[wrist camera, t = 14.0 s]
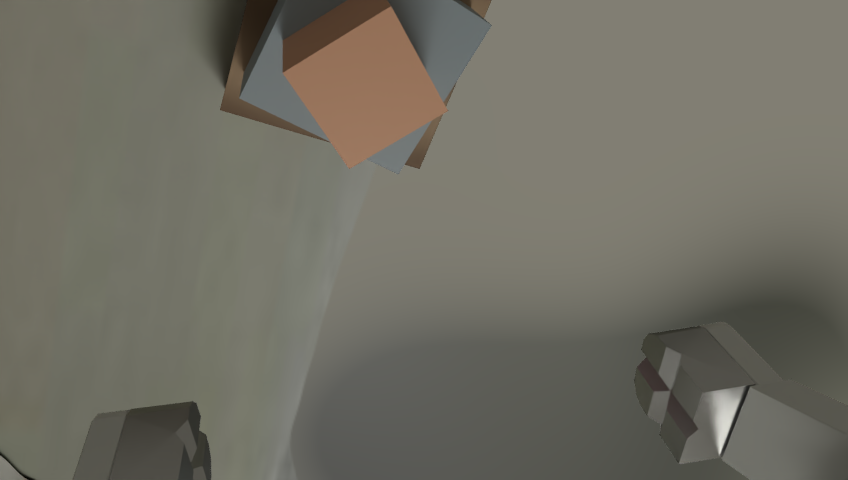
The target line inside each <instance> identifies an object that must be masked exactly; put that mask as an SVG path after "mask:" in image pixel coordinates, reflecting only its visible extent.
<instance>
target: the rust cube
mask: <svg viewBox="0 0 848 480" xmlns="http://www.w3.org/2000/svg"><path fill="white" fill-rule="evenodd" d="M283 74H284V76H285V77H286V79H287V80H288V82H289V83H290V84H291V86H292V87H293V89H294V90H295V92H296V93H297V94H298V96H299V97H300V99H301V100H302V102H303V103H304V105H305V106H306V107H307V109H308V110H309V112H310V113H311V115H312V116H313V117H314V119H315V120H316V122H317V123H318V125H319V126H320V128H321V129H322V130H323V132H324V133H325V135H326V136H327V138H328V139H329V140H330V142H331V143H332V145H333V146H334V148H335V149H336V150H337V152H338V153H339V155H340V156H341V158H342V159H343V161H344V162H345V163H346V165H347V166H348V168H349V169H350V168H352V167H353V166H355V165H357V164H359V163H360V162H362V161H364V160H365V159H367V158H369V157H370V156H372V155H374V154H376V153H377V152H379V151H381V150H382V149H384V148H386V147H388V146H389V145H391V144H393V143H394V142H396V141H398V140H399V139H401V138H403V137H405V136H406V135H408V134H410V133H411V132H413V131H415V130H416V129H418V128H420V127H422V126H423V125H425V124H427V123H428V122H430V121H432V120H434V119H435V118H437V117H439V116H440V115H442V114H444V113H445V112H447V111H448V110H447V108H446V106H445V104H444V103H443V101H442V99H441V97H440V95H439V93H438V91H437V90H436V88H435V86H434V84H433V82H432V80H431V79H430V77H429V75H428V73H427V71H426V69H425V68H424V66H423V64H422V62H421V60H420V58H419V56H418V55H417V53H416V51H415V49H414V47H413V45H412V44H411V42H410V40H409V38H408V36H407V34H406V33H405V31H404V29H403V27H402V25H401V23H400V21H399V20H398V18H397V16H396V14H395V12H394V10H393V9H392V7H391V5H390V4H389V2H388V1H387V0H347V1H345V2H344V3H342V4H340V5H339V6H337V7H336V8H334V9H332V10H331V11H329V12H327V13H326V14H324V15H323V16H321V17H319V18H318V19H316V20H315V21H313V22H311V23H310V24H308V25H307V26H305V27H303V28H302V29H300V30H299V31H297V32H295V33H294V34H292V35H291V36H289V37H287V38H286V39H284V40H283Z"/></svg>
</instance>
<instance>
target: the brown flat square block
mask: <svg viewBox="0 0 848 480" xmlns="http://www.w3.org/2000/svg"><path fill="white" fill-rule="evenodd" d="M277 1H278V0H247V4H246V8H245V12H244V16H243V20H242V24H241V28H240V32H239V36H238V40H237V44H236V48H235V52H234V56H233V60H232V64H231V68H230V72H229V76H228V80H227V84H226V88H225V92H224V96H223V100H222V104H221V108H220V110H222V111H225V112H229V113H232V114H235V115H239V116H242V117H246V118H249V119H252V120H256V121H259V122H262V123H266V124H269V125H273V126H276V127H279V128H283V129H286V130H290V131H293V132H296V133H300V134H303V135H307V136H310V137H313V138H317V139H320V140H323V141H327V140H325V139H323V138H321V137H319V136H317V135H315V134H313V133H311V132H309V131H306V130H304V129H302V128H300V127H298V126H296V125H294V124H292V123H290V122H288V121H286V120H283V119H281V118H279V117H277V116H275V115H273V114H271V113H269V112H267V111H265V110H263V109H260V108H258V107H256V106H254V105H252V104H250V103H248V102H246V101H244V100H242V99H240V98H239V96H240V90H241V85H242V79H243V73H244V71H245V69H246V67H247V65H248V63H249V60H250V58H251V56H252V54H253V52H254V50H255V48H256V46H257V44H258V41H259V39H260V37H261V35H262V33H263V31H264V29H265V27H266V25H267V23H268V20H269V18H270V16H271V14H272V12H273V10H274V8H275V6H276V4H277ZM460 1H462V2H463V3H465V4H466V5H468V6H469V7H471V8H472V9H473V10H474V11H476V12H477V13H478V14H479V15H480V16H481V17H483V18H484V17H485V14H486V12H487V10H488V7H489V5H490V3H491V0H460ZM455 84H456V83H455ZM454 87H455V85H454V86H453V88H452V90H451V91H450V93H449V94H448V96H447V98H446V99H445V101H444V102H443V103H444V104H445V106H447V103H448V101H449V99H450V96H451V94H452V92H453V89H454ZM442 115H443V114H442ZM442 115H440V116H439V117H437V118H435V119H434V120H432V121H431V123H430V125H429V126H428V128H427V129H426V131H425V133H424V134H423V136H422V137H421V139H420V141H419V142H418V144H417V145H416V147H415V149H414V150H413V152H412V153H411V155H410V157H409V158H408V160H407V161H406V163H405V165H408V166H412V167H415V168H418V169H420V167H421V164H422V162H423V160H424V157H425V155H426V152H427V150H428V148H429V145H430V143H431V141H432V138H433V136H434V134H435V131H436V129H437V127H438V124H439V122H440V120H441V117H442ZM327 142H329V141H327ZM330 143H331V142H330Z"/></svg>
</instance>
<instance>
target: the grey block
mask: <svg viewBox="0 0 848 480" xmlns="http://www.w3.org/2000/svg"><path fill="white" fill-rule="evenodd" d="M345 1H347V0H278V1H277V4H276V6H275V8H274V10H273V12H272V14H271V16H270V18H269V20H268V23H267V25H266V27H265V29H264V31H263V33H262V35H261V37H260V39H259V41H258V44H257V46H256V48H255V50H254V52H253V54H252V56H251V58H250V60H249V63H248V65H247V67H246V69H245V71H244V73H243V79H242V85H241V90H240V96H239V98H240V99H242V100H244V101H246V102H248V103H250V104H252V105H254V106H256V107H258V108H260V109H263V110H265V111H267V112H269V113H271V114H273V115H275V116H277V117H279V118H281V119H283V120H286V121H288V122H290V123H292V124H294V125H296V126H298V127H300V128H302V129H304V130H306V131H309V132H311V133H313V134H315V135H317V136H319V137H321V138H323V139H325V140H327V141H329V142H330V140H329V139H328V138H327V136H326V135H325V133H324V132H323V130H322V129H321V128H320V126H319V125H318V123H317V122H316V120H315V119H314V117H313V116H312V115H311V113H310V112H309V110H308V109H307V107H306V106H305V105H304V103H303V102H302V100H301V99H300V97H299V96H298V94H297V93H296V92H295V90H294V89H293V87H292V86H291V84H290V83H289V82H288V80H287V79H286V77H285V76H284V74H283V40H284V39H286V38H287V37H289V36H291V35H292V34H294V33H295V32H297V31H299V30H300V29H302V28H303V27H305V26H307V25H308V24H310V23H311V22H313V21H315V20H316V19H318V18H319V17H321V16H323V15H324V14H326V13H327V12H329V11H331V10H332V9H334V8H336V7H337V6H339V5H340V4H342V3H344V2H345ZM387 1H388V2H389V4H390V5H391V7H392V9H393V10H394V12H395V14H396V16H397V18H398V20H399V21H400V23H401V25H402V27H403V29H404V31H405V33H406V34H407V36H408V38H409V40H410V42H411V44H412V45H413V47H414V49H415V51H416V53H417V55H418V56H419V58H420V60H421V62H422V64H423V66H424V68H425V69H426V71H427V73H428V75H429V77H430V79H431V80H432V82H433V84H434V86H435V88H436V90H437V91H438V93H439V95H440V97H441V99H442V101H443V102H444V101H445V99H446V98H447V96H448V94H449V93H450V91H451V90H452V88H453V86H454V85H455V83H456V82H457V80H458V78H459V77H460V75H461V74H462V72H463V70H464V69H465V67H466V66H467V64H468V62H469V61H470V59H471V57H472V56H473V54H474V53H475V51H476V50H477V48H478V47H479V45H480V43H481V42H482V40H483V39H484V37H485V35H486V33H487V32H488V31H489V29H490V27H491V26H492V25H491V24H490V23H488V22H487V21H486V20H485V19H484V18H483V17H481V16H480V15H479V14H478V13H477V12H476V11H474V10H473V9H472V8H471V7H469V6H468V5H466V4H465V3H463V2H462V1H460V0H387ZM430 123H431V121H430V122H428V123H427V124H425V125H423V126H422V127H420V128H418V129H416V130H415V131H413V132H411V133H410V134H408V135H406V136H405V137H403V138H401V139H399V140H398V141H396V142H394V143H393V144H391V145H389V146H388V147H386V148H384V149H382V150H381V151H379V152H377V153H376V154H374V155H372V156H370V157H369V158H367V160H369V161H371V162H373V163H376V164H378V165H380V166H382V167H384V168H386V169H388V170H390V171H392V172H394V173H396V174H399V172H400V171H401V169H402V168H403V166H404V165H405V163H406V161H407V160H408V158H409V157H410V155H411V153H412V152H413V150H414V149H415V147H416V145H417V144H418V142H419V141H420V139H421V137H422V136H423V134H424V133H425V131H426V129H427V128H428V126H429V125H430Z"/></svg>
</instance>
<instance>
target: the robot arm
mask: <svg viewBox="0 0 848 480" xmlns="http://www.w3.org/2000/svg"><path fill="white" fill-rule="evenodd" d="M641 350H642V352H643V353H644V354H645V356H646V358H645V359H644V360H643V361H642V362H641V363H640V364H639V365H638V366H637V369H636V374H635V379H634V383H635V389H636V395H637V398H638V400H639V403H640V405H641V407H642V408H643V410H644V412H645V413H646V415H647V416H648V417H650V418H651V419H653V420H655V421H657V422H658V423H660V424H661V428H660V436H661V438H662V439H663V441H664V442H665V444H666V445H667V447H668V448H669V450H670V451H671V453H672V454H673V456H674V457H675V459H676V460H677V462H678V463H679V464H682V463H689V462H695V461H701V460H708V459H714V458H721V457H722V460H723V461H724V462H726V463H727V464H729V465H730V466H731V467H733V468H734V469H736V470H737V471H738V472H740V473H741V474H743V475H744V476H746V477H747V478H748V479H750V480H848V405H845V404H843V403H841V402H839V401H837V400H835V399H832V398H830V397H828V396H826V395H824V394H821V393H819V392H817V391H815V390H813V389H811V388H808V387H806V386H804V385H802V384H800V383H797V382H795V381H793V380H785V381H783V380H782V379H781V378H780V376H779V375H777V373H775V371H774V370H773V369H772V368H771V367H770V366H769V365H768V364H767V363H766V362H765V361H764V360H763V359H762V358H761V357H760V356H759V355H758V354H757V353H756V352H755V351H754V350H753V348H752V347H750V345H748V343H747V342H746V341H745V340H744V339H743V338H742V337H741V336H740V335H739V334H738V333H737V332H736V331H735V330H734V329H733V328H732V327H731V326H730V325H728V324H726V323H724V322H718V323H712V324H705V325H699V326H697V327H695V326H693V327H687V328H681V329H675V330H668V331H662V332H655V333H649V334H648V335H647V336H646V337H645V339H644V341H643V344H642V348H641ZM200 420H201V415H200V412H199V409H198V406H197V403H195V402H193V401H192V402H183V403H175V404H167V405H159V406H151V407H143V408H135V409H131V410H125V411H116V412H108V413H100V414H98V415H97V416H96V417H95V418H94V420H93V421H92V422H91V425H90V428H89V431H88V434H87V437H86V440H85V443H84V446H83V449H82V452H81V455H80V458H79V462H78V465H77V468H76V471H75V474H74V477H73V480H211V455H210V448H209V443H208V440H207V436H206V434H204V433H202V432H201V431H199V428H200ZM0 480H28V479H26V478H24V477H23V476H21V475H20V474H19V473H18V472H17V471H16V470H15V469H14V468H13V467H12V466H11V465H10V464H9V463H8V462H7V461H6V460H5V459H4V458H3V457H1V456H0Z"/></svg>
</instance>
